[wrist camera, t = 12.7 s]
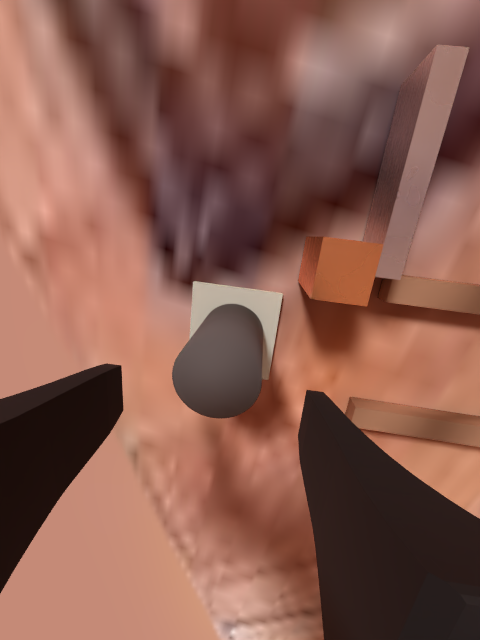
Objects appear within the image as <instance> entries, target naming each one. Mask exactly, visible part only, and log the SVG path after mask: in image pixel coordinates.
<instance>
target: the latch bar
mask: <svg viewBox="0 0 480 640" xmlns="http://www.w3.org/2000/svg"><path fill="white" fill-rule="evenodd" d="M468 51H469V47H460V46H447V45H437V46H436V47H435V48H434V49H433V50H432V51H431V52H430V53H429V55H428V56H427V57H426V58H425V59H424V60H423V61H422V62H421V63H420V65H419V66H418V67H417V68H416V69H415V70H414V71H413V72H412V74H411V75H410V76H409V77H408V78H407V79H406V80H405V81H404V82H403V84H402V85H401V87H400V91H399V95H398V99H397V103H396V107H395V111H394V115H393V120H392V124H391V128H390V132H389V136H388V140H387V144H386V148H385V152H384V156H383V160H382V165H381V169H380V173H379V177H378V181H377V185H376V189H375V193H374V197H373V201H372V205H371V210H370V214H369V218H368V222H367V226H366V230H365V234H364V238H363V242H362V241H354V240H345V239H337V238H329V237H306V241H305V246H304V252H303V257H302V263H301V268H300V274H299V279H298V281H299V283H300V284H301V286H302V287H303V289H304V290H305V291H306V293H307V294H308V296H309V297H310V298H311V299H314V300H322V301H329V302H337V303H344V304H351V305H359V306H366V307H367V305H368V301H369V297H370V293H371V290H372V286H373V282H374V279H375V277H380V278H388V279H396V280H400V279H401V276H402V273H403V269H404V266H405V263H406V259H407V256H408V253H409V249H410V246H411V242H412V239H413V236H414V232H415V229H416V226H417V222H418V219H419V216H420V212H421V209H422V206H423V202H424V199H425V195H426V192H427V189H428V185H429V182H430V179H431V175H432V172H433V169H434V165H435V162H436V158H437V155H438V152H439V148H440V145H441V142H442V138H443V135H444V132H445V128H446V125H447V121H448V118H449V115H450V111H451V108H452V105H453V101H454V98H455V95H456V91H457V88H458V84H459V81H460V78H461V74H462V71H463V68H464V64H465V61H466V58H467V54H468Z"/></svg>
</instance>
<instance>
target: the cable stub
mask: <svg viewBox="0 0 480 640" xmlns="http://www.w3.org/2000/svg"><path fill="white" fill-rule="evenodd" d="M262 360H263V327H262V324H261V322H260V320H259V318H258V317H257V315H256V314H255V313H254V312H253V311H252V310H250V309H249V308H247V307H245V306H242V305H239V304H224V305H221V306H219V307H217V308H215V309H214V310H212V311H211V312H210V313H209V314H208V315H207V317H206V318H205V320H204V321H203V322H202V324H201V325H200V326H199V328H198V329H197V330H196V332H195V333H194V334H193V336H192V337H191V339H190V340H189V341H188V343H187V344H186V345H185V347H184V348H183V349H182V351H181V352H180V353H179V355H178V357H177V358H176V360H175V363H174V366H173V372H172V379H173V384H174V387H175V390H176V392H177V394H178V396H179V397H180V399H181V400H182V401H183V402H184V403H185V404H186V405H187V406H188V407H189V408H190V409H192V410H193V411H195V412H197V413H199V414H201V415H204V416H207V417H211V418H230V417H234V416H237V415H239V414H241V413H243V412H245V411H246V410H248V409H249V408H250V407H251V406H252V405H253V404H254V402H255V401H256V400H257V398H258V396H259V393H260V390H261V384H262Z"/></svg>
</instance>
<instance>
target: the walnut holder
mask: <svg viewBox="0 0 480 640" xmlns="http://www.w3.org/2000/svg"><path fill="white" fill-rule="evenodd" d="M378 298H379V299H381V300H383V301H385V302H389V303H396V304H404V305H411V306H419V307H426V308H434V309H441V310H449V311H456V312H464V313H471V314H479V315H480V285H476V284H468V283H460V282H452V281H444V280H437V279H429V278H421V277H413V276H405V275H402V276H401V279H400V280H396V279H388V278H383V280H382V284H381V287H380V291H379V294H378ZM345 415H346V416H347V417H348V418H349V419H350V420H351V421H352V422H353V423H354V424H355V425H356V426H357V427H358V428H361V429H368V430H374V431H380V432H387V433H393V434H399V435H406V436H412V437H418V438H425V439H431V440H437V441H444V442H450V443H456V444H463V445H469V446H475V447H480V417H479V416H472V415H466V414H459V413H453V412H446V411H440V410H433V409H426V408H420V407H413V406H407V405H400V404H394V403H387V402H380V401H374V400H367V399H361V398H354V397H350V399H349V403H348V406H347V410H346V413H345Z"/></svg>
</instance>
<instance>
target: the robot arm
mask: <svg viewBox="0 0 480 640" xmlns="http://www.w3.org/2000/svg"><path fill="white" fill-rule="evenodd" d="M122 412H123V393H122V371H121V366H120V365H113V364H103V365H99V366H96V367H93V368H90V369H87V370H84V371H81V372H79V373H76V374H73V375H70V376H68V377H65V378H63V379H60V380H57V381H54V382H52V383H48V384H46V385H43V386H40V387H37V388H34V389H31V390H28V391H25V392H22V393H19V394H16V395H13V396H9V397H6V398H3V399H0V593H1V591H2V590H3V588H4V586H5V584H6V583H7V581H8V579H9V578H10V576H11V574H12V572H13V571H14V569H15V567H16V566H17V564H18V562H19V561H20V559H21V558H22V556H23V554H24V553H25V551H26V550H27V548H28V546H29V545H30V543H31V541H32V540H33V538H34V537H35V535H36V533H37V532H38V530H39V529H40V527H41V526H42V524H43V523H44V521H45V520H46V518H47V516H48V515H49V513H50V512H51V510H52V508H53V507H54V506H55V504H56V503H57V501H58V500H59V498H60V497H61V496H62V494H63V493H64V491H65V490H66V489H67V487H68V486H69V485H70V483H71V482H72V481H73V480H74V478H75V477H76V476H77V475H78V473H79V472H80V470H81V469H82V468H83V467H84V466H85V464H86V463H87V462H88V461H89V459H90V458H91V457H92V456H93V454H94V453H95V452H96V450H97V449H98V448H99V446H100V445H101V444H102V443H103V441H104V440H105V439H106V438H107V436H108V435H109V434H110V432H111V430H112V429H113V427H114V426H115V424H116V422H117V421H118V419H119V417H120V415H121V413H122ZM298 441H299V456H300V464H301V470H302V475H303V480H304V486H305V491H306V496H307V501H308V506H309V511H310V516H311V521H312V527H313V533H314V540H315V547H316V557H317V566H318V576H319V586H320V597H321V608H322V619H323V631H324V640H480V519H479V518H477V517H476V516H474V515H472V514H471V513H469V512H467V511H466V510H464V509H463V508H461V507H460V506H458V505H456V504H455V503H453V502H452V501H450V500H449V499H447V498H446V497H444V496H443V495H441V494H440V493H439V492H437V491H436V490H434V489H433V488H431V487H430V486H428V485H427V484H425V483H424V482H423V481H421V480H420V479H418V478H417V477H416V476H414V475H413V474H412V473H410V472H409V471H408V470H406V469H405V468H404V467H403V466H401V465H400V464H399V463H398V462H396V461H395V460H394V459H392V458H391V457H390V456H389V455H388V454H386V453H385V452H384V451H383V450H382V449H380V448H379V447H378V446H377V445H376V444H375V443H374V442H373V441H372V440H370V439H369V438H368V437H367V436H366V435H365V434H364V433H363V432H362V431H361V430H360V429H359V428H358V427H357V426H356V425H355V424H354V423H353V422H352V421H351V420H350V419H349V418H348V417H347V416H346V415H345V414H344V413H343V412H342V411H341V410H340V409H339V408H338V407H337V406H336V405H335V404H334V403H333V402H332V400H331V399H330V398H329V397H328V396H327V395H326V394H325V393H324V392H318V391H311V390H307V391H306V396H305V402H304V407H303V412H302V417H301V423H300V428H299V433H298Z"/></svg>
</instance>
